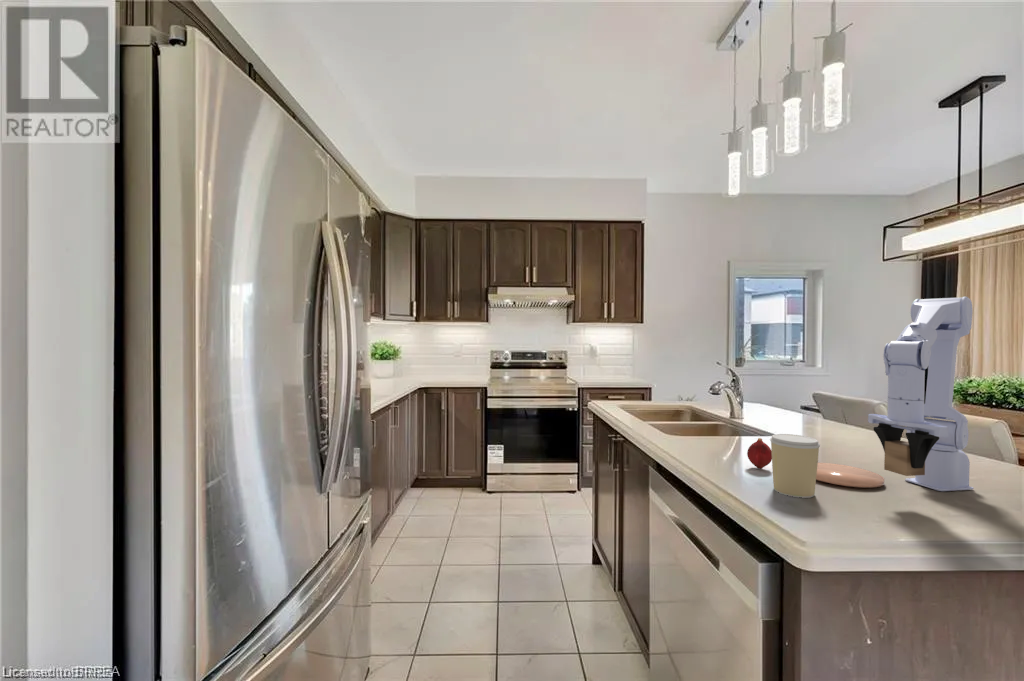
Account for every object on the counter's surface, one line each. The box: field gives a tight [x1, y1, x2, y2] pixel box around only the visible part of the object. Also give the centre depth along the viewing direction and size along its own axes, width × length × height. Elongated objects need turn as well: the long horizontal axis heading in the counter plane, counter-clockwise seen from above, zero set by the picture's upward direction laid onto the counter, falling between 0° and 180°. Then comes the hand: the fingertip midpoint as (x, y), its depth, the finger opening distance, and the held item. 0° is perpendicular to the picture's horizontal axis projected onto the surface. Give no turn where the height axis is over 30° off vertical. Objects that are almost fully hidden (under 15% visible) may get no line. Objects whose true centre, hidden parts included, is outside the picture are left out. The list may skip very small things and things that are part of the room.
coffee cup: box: [770, 433, 821, 499], centre depth 101 cm, size 9×9×12 cm
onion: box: [746, 437, 772, 470], centre depth 118 cm, size 6×6×8 cm
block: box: [883, 440, 925, 477], centre depth 94 cm, size 4×4×6 cm
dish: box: [816, 462, 885, 488], centre depth 111 cm, size 17×17×2 cm
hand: (904, 464), depth 94 cm, fingers closed on block, 4 cm apart
